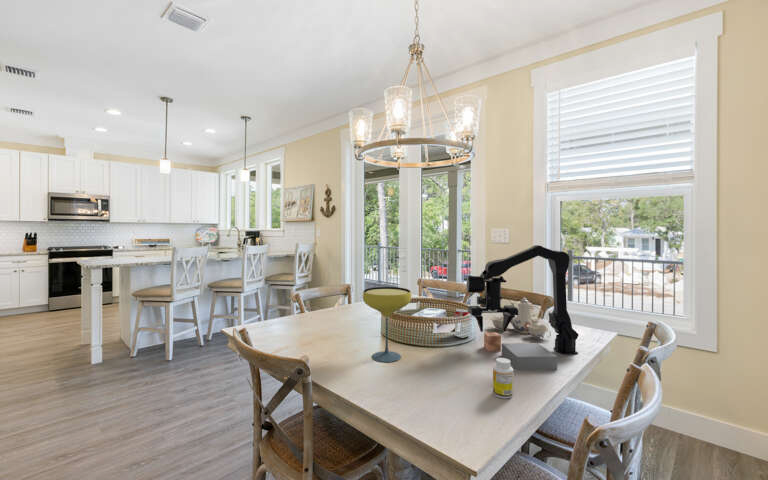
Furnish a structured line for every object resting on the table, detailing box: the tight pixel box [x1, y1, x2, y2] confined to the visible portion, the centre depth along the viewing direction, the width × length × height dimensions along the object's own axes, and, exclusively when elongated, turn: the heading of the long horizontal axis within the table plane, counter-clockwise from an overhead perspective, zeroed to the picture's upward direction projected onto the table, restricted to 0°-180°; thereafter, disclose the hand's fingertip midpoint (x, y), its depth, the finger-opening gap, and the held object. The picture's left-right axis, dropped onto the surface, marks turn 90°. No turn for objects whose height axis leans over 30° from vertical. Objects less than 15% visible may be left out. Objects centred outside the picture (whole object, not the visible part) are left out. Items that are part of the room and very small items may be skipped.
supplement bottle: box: [492, 357, 514, 400], centre depth 101 cm, size 6×6×10 cm
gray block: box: [501, 342, 559, 371], centre depth 126 cm, size 14×14×5 cm
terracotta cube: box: [483, 332, 502, 352], centre depth 139 cm, size 5×5×6 cm
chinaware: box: [490, 296, 552, 340], centre depth 162 cm, size 28×17×17 cm, turn 49°
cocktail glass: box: [362, 286, 412, 363], centre depth 130 cm, size 18×18×25 cm
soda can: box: [453, 308, 470, 318], centre depth 155 cm, size 7×7×12 cm
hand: (492, 331), depth 139 cm, fingers open, 9 cm apart
